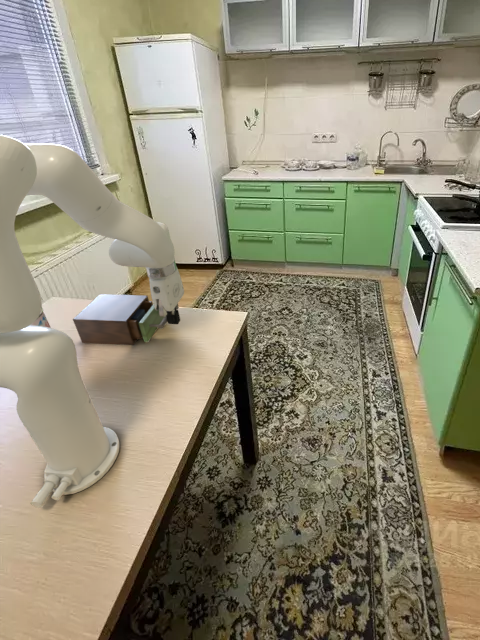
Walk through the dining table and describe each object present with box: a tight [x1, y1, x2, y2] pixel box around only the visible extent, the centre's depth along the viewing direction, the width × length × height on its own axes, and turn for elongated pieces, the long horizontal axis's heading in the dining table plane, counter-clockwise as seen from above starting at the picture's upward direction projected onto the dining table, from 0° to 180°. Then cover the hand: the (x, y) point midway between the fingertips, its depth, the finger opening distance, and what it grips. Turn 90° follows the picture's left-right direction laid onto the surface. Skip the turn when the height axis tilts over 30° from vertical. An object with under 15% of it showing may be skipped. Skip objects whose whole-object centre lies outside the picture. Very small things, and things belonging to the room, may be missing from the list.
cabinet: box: [72, 293, 150, 346], centre depth 96 cm, size 16×13×9 cm
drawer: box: [128, 300, 168, 343], centre depth 96 cm, size 19×11×7 cm, turn 85°
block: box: [130, 309, 145, 331], centre depth 96 cm, size 4×4×4 cm
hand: (174, 322), depth 95 cm, fingers closed
